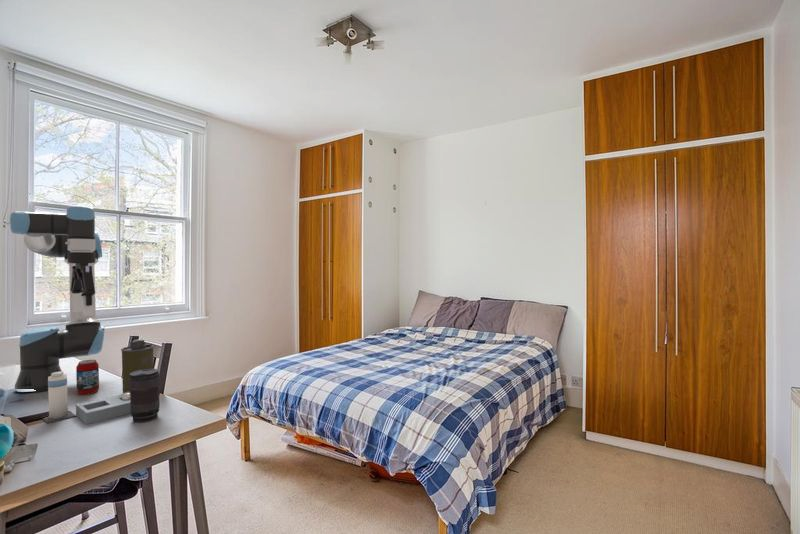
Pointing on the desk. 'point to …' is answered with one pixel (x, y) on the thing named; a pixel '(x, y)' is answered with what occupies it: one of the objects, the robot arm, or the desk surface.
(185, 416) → the desk surface
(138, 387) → the camera lens
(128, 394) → the plunger
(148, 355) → the canister
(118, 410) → the block
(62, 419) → the mat
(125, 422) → the desk surface
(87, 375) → the beverage can
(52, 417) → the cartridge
